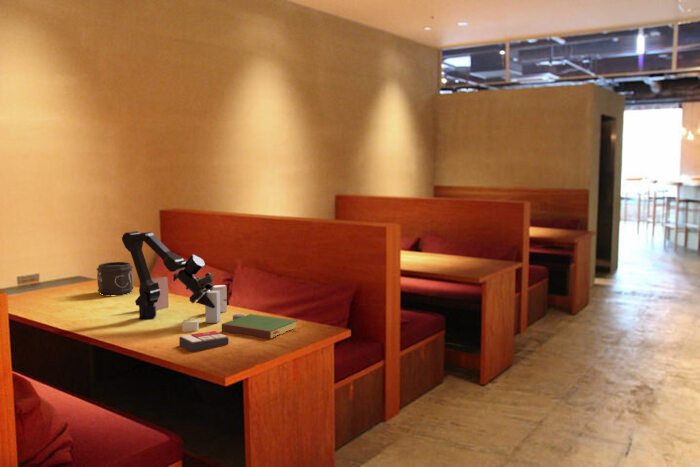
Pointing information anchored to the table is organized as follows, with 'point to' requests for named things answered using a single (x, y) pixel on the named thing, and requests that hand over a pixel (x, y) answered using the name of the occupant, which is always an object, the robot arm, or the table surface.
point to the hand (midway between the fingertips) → (216, 306)
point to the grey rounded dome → (237, 316)
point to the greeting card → (162, 292)
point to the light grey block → (213, 313)
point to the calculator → (202, 341)
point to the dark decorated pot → (115, 278)
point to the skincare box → (222, 296)
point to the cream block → (190, 325)
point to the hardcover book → (258, 326)
